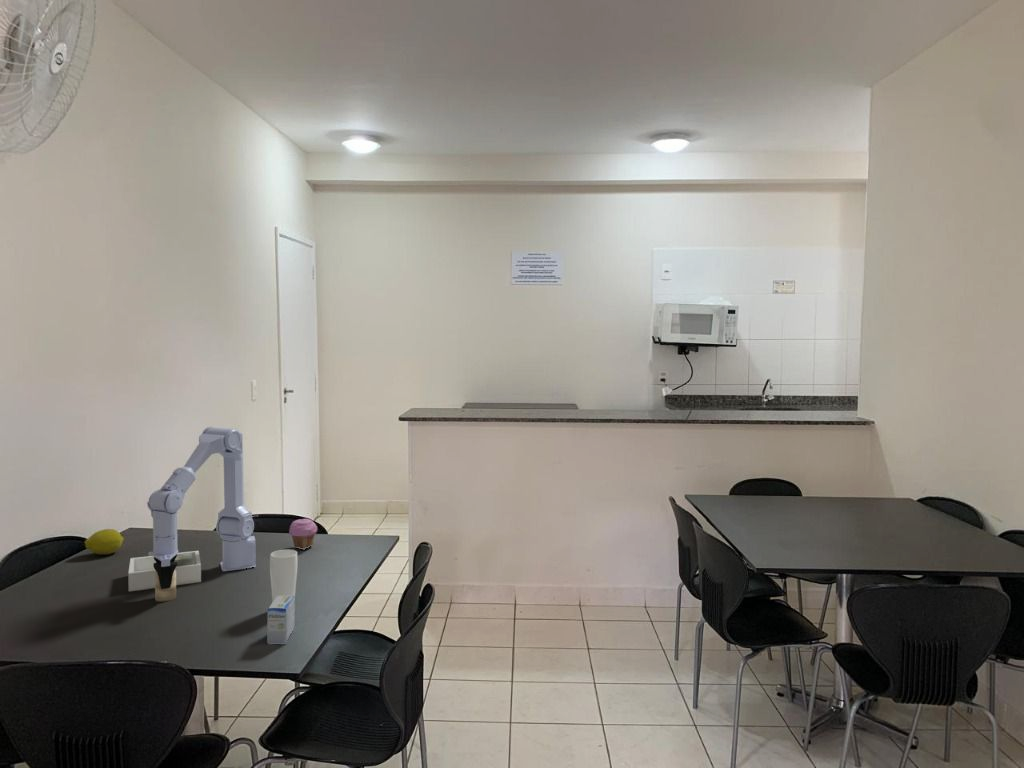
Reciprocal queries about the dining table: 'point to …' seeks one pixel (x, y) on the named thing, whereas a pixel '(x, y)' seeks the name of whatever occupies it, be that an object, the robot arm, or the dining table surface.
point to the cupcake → (303, 532)
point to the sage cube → (184, 559)
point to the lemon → (104, 542)
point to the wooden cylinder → (165, 590)
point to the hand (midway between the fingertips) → (165, 584)
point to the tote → (144, 572)
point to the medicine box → (281, 619)
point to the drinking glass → (283, 572)
